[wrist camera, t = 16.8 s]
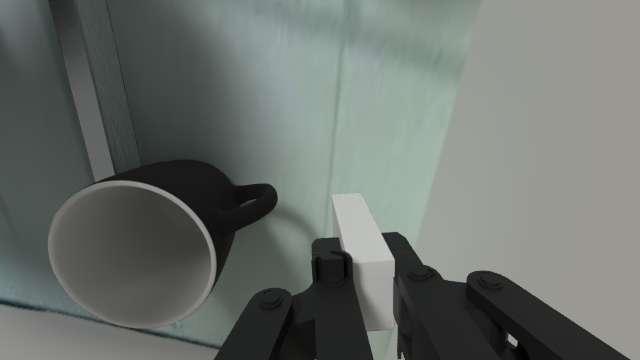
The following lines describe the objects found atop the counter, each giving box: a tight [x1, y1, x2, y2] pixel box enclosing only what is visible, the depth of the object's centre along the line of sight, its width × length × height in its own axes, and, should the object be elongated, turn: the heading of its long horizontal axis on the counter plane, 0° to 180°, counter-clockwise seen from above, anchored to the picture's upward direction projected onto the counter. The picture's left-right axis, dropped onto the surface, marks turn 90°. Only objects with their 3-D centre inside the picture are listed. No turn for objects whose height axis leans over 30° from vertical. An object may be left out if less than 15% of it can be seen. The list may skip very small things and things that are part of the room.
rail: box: [48, 0, 141, 182], centre depth 22 cm, size 2×24×4 cm, turn 3°
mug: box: [48, 160, 278, 329], centre depth 22 cm, size 12×9×10 cm
